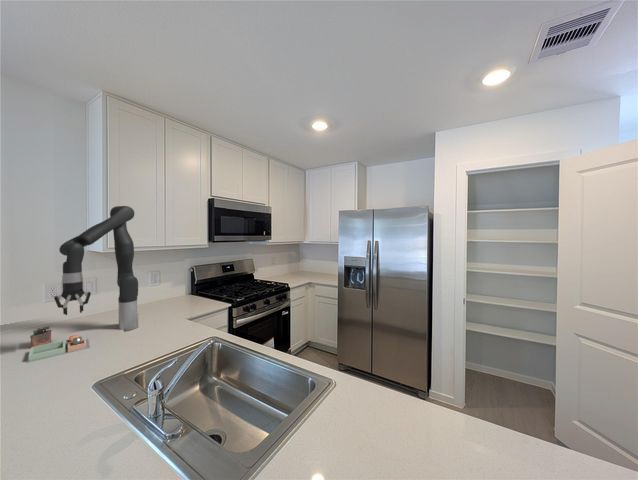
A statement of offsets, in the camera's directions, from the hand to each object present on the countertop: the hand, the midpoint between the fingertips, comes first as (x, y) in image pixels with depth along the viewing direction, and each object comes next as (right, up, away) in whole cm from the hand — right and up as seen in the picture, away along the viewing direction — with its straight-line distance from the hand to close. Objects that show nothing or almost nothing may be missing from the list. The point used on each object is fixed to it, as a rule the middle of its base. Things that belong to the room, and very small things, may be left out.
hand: (73, 313), depth 129 cm
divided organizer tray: (-1, -18, -6) cm, 18 cm away
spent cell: (+5, -16, -3) cm, 18 cm away
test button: (0, -16, +1) cm, 16 cm away
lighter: (-16, -17, -1) cm, 23 cm away
